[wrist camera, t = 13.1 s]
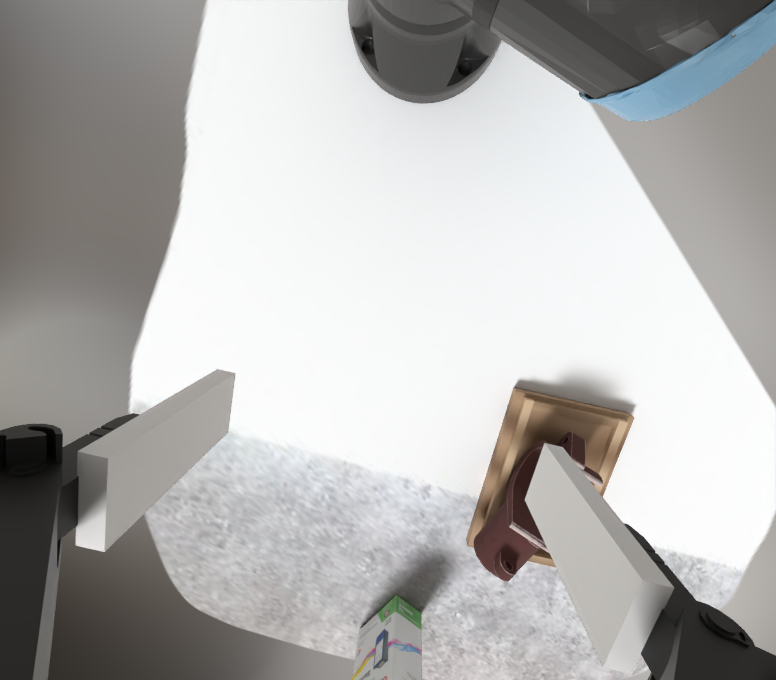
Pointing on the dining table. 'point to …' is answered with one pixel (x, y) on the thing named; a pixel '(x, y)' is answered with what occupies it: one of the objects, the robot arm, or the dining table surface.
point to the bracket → (522, 514)
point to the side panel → (549, 423)
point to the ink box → (390, 644)
